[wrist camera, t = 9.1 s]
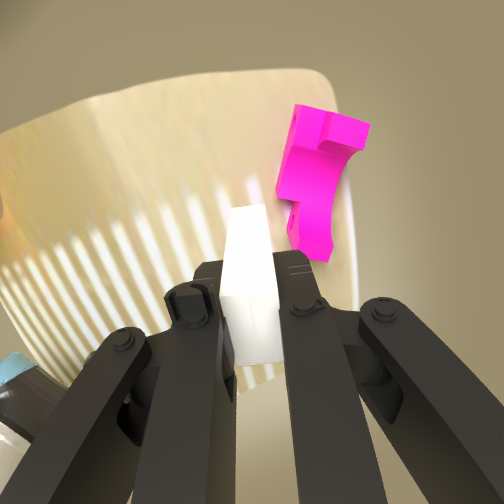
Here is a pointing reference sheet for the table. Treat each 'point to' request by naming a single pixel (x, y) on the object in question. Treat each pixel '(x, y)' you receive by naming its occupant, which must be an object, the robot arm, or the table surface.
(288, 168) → the toy block
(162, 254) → the table surface
